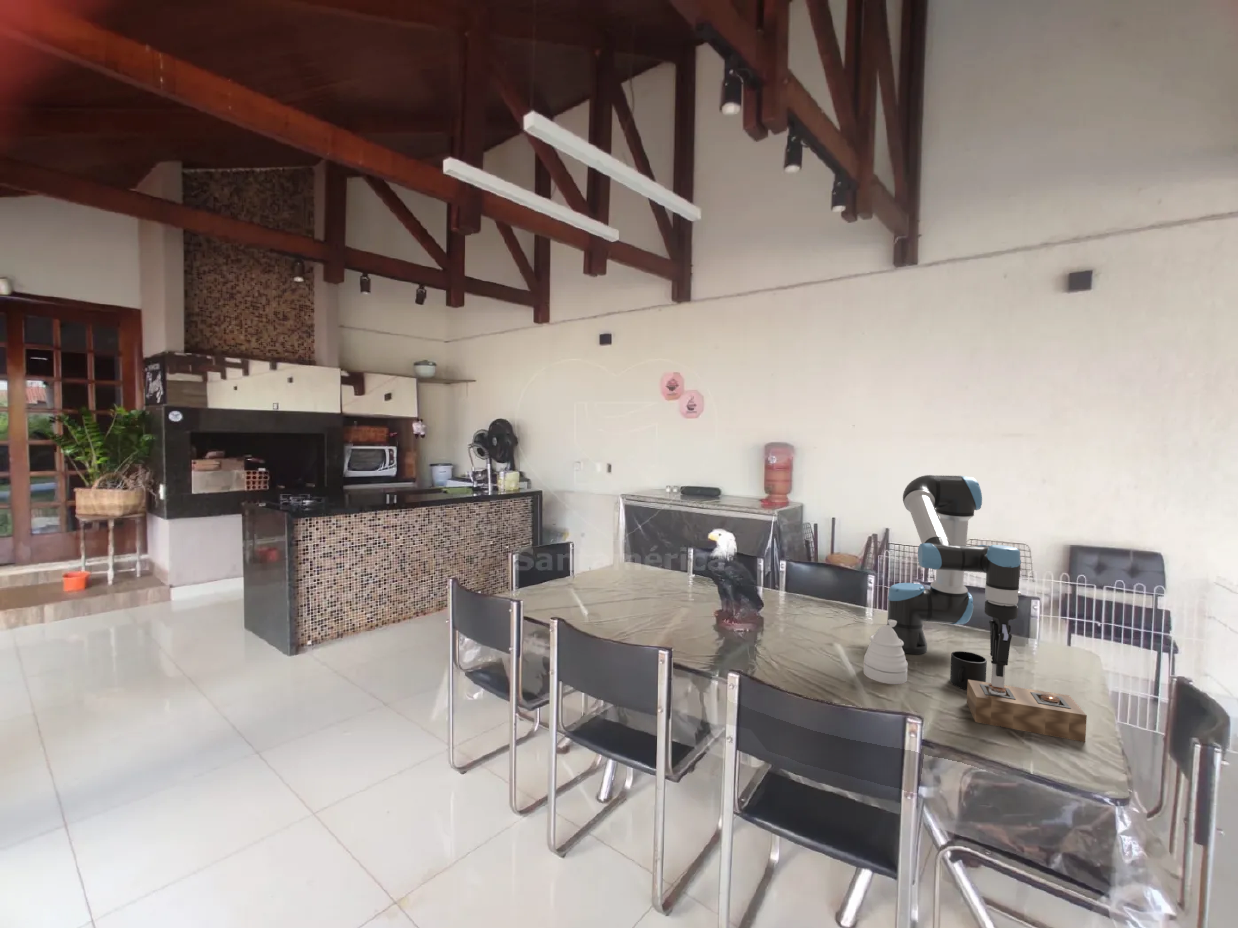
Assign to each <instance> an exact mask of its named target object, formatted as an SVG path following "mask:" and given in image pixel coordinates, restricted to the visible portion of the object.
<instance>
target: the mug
mask: <svg viewBox="0 0 1238 928" xmlns="http://www.w3.org/2000/svg"><path fill="white" fill-rule="evenodd" d="M987 661H988V660H987V658H985V657H984V656H983V655H982V656H981V655H980V654H977V653H973V652H969V651H962V650H957V651H953V652H951V653H950V675H949V678H950V679H949V681H950V683H951V684H952V685H953V686H955V687H957V688H959V689H962V690H965V691H967V684H968V680H975V681H981V682H987V663H988V662H987Z"/></svg>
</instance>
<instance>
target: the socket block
mask: <svg viewBox="0 0 1238 928" xmlns="http://www.w3.org/2000/svg"><path fill="white" fill-rule="evenodd" d="M989 684H991V682H987V681H986V682H981V681H975V680H968V684H967V690H966V705H967V706H968V710H969V711H970V714H971V715H972V719H973V720H974V722H975V723H978V724H984V725H990V726H996V727H1000V726H1001V727H1000V728H1005V729H1011V730H1016V731H1017V730H1018V731H1024V732H1029V733H1034V734H1038V735H1039V734H1040V735H1045V736H1051V737H1057V738H1061V739H1066V740H1072V741H1078V742H1083V743H1086V735H1087V734H1086V733H1087V721H1088V720H1087V713H1085V711H1084V710H1083V709H1082V708H1081V707H1080V705H1078V704H1077V702H1076V701H1075V700H1074V699H1073V698H1072V696H1071V695H1068V694H1063V693H1062V694H1061V693H1056V692H1049V691H1044V690H1037V689H1030V688H1025V687H1019V686H1018V687H1017V686H1013V685H1006V684H1004V687H1005V688H1006V696H1002V695H996V694H990V693H988V690H989ZM1041 694H1050V695H1054V696H1056V697H1058V698H1059V699H1060V704H1059V705H1057V704H1051V703H1045V702H1041Z"/></svg>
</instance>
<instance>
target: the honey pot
mask: <svg viewBox="0 0 1238 928" xmlns="http://www.w3.org/2000/svg"><path fill="white" fill-rule="evenodd" d="M887 620H888V619H887ZM888 623H889V625H887V624H883V625H882V626H880V627H879V628H878V629H877V630H876V632H875V633H874V634H872V635H870V636H869V641H870V643H869V645H867V649H866V651H865V654H864V656H863V674H864V675H865V676H866V677H867V678H869V679H871V680H873V681H876V682H879V683H883V684H888V685H901V684H905V683H907V681H908V666H909V665H908V664H909V663H908V661H907V660H906V659H907V658H906V655H905V653H904V651H903V649H902V646H903V645H904V642H903V641H902V640H901V639H899V638H898V636H897V634H896V632H895V631H894V630H893V628H892V627H894V626H895V625H896V624H897V621H896V620H888Z"/></svg>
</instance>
